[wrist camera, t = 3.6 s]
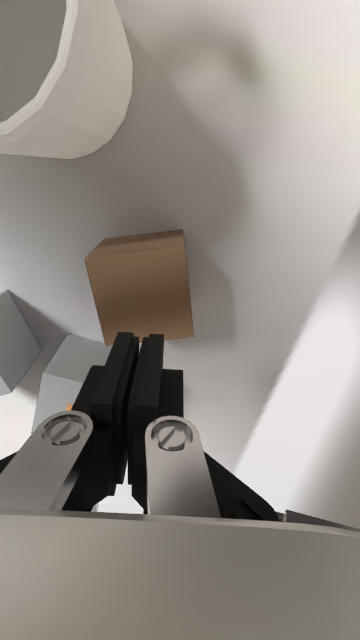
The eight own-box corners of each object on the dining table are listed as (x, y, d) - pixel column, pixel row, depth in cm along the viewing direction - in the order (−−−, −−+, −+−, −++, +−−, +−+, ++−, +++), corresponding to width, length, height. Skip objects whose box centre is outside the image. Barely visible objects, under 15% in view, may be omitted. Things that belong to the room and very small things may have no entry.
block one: (68, 332, 23) (41, 373, 18) (135, 351, 24) (125, 395, 19) (57, 385, 25) (30, 434, 20) (118, 401, 26) (106, 451, 21)
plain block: (104, 238, 20) (84, 259, 16) (182, 229, 20) (184, 247, 15) (119, 309, 22) (105, 346, 18) (190, 302, 22) (194, 336, 18)
